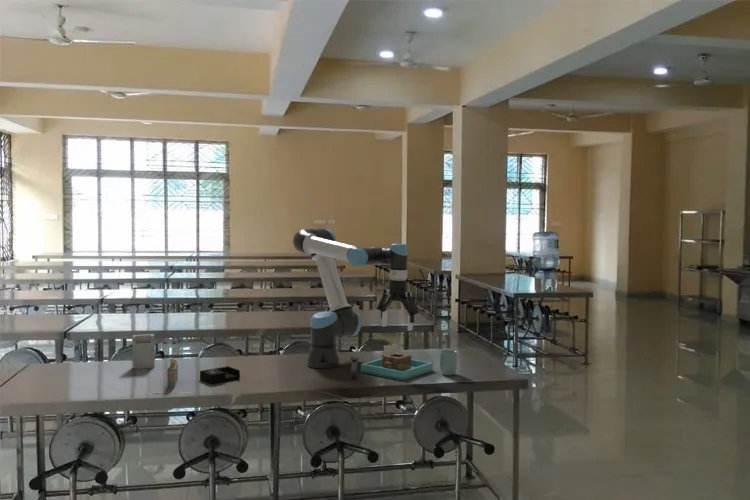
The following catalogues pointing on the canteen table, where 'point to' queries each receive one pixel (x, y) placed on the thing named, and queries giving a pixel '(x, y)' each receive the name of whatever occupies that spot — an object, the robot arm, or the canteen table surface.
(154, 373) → the canteen table surface
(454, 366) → the cup
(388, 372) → the tray
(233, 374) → the battery charger
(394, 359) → the wooden box
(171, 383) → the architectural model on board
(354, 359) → the stake
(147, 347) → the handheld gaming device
